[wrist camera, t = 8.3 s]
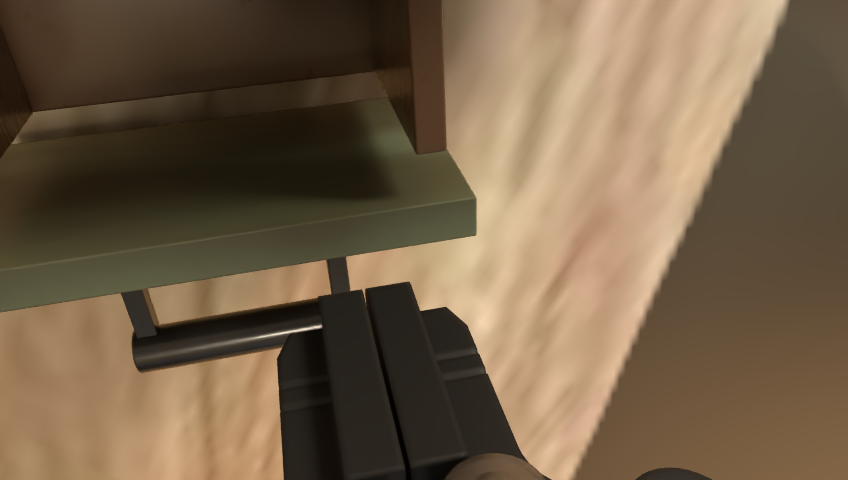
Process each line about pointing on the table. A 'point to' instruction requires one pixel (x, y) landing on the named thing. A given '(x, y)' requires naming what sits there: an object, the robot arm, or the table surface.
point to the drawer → (218, 157)
